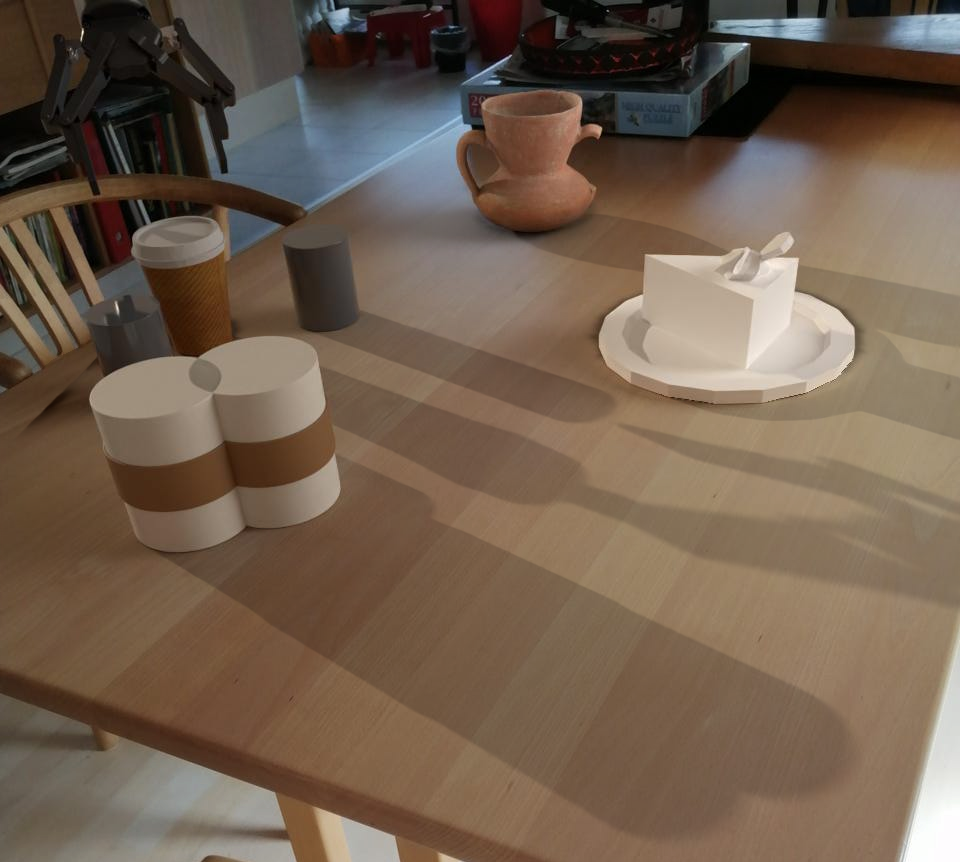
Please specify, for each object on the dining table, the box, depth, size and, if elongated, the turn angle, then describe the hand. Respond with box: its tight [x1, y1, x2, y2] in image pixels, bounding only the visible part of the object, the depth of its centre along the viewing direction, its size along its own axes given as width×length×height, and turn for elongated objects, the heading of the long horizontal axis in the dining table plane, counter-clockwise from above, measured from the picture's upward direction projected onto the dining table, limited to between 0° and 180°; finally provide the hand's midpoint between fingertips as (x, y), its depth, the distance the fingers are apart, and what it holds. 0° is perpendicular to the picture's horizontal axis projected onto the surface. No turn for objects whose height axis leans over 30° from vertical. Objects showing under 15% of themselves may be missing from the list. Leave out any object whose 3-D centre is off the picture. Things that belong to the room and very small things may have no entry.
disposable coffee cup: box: [130, 215, 234, 356], centre depth 108 cm, size 10×10×12 cm
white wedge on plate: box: [598, 231, 856, 405], centre depth 100 cm, size 25×25×11 cm
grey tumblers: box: [83, 224, 361, 378], centre depth 106 cm, size 7×30×9 cm, turn 134°
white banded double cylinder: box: [89, 335, 342, 553], centre depth 83 cm, size 17×14×12 cm
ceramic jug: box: [455, 89, 603, 233], centre depth 129 cm, size 18×14×14 cm
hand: (160, 178), depth 110 cm, fingers open, 13 cm apart
